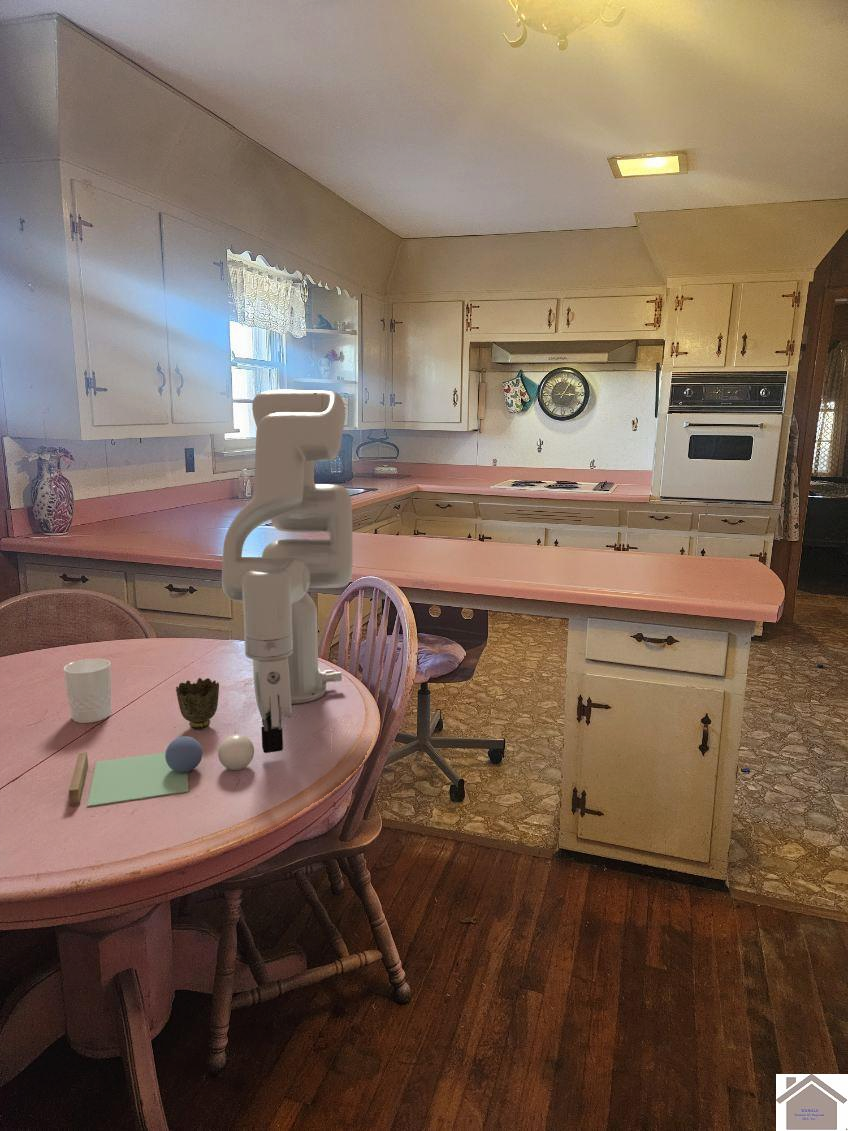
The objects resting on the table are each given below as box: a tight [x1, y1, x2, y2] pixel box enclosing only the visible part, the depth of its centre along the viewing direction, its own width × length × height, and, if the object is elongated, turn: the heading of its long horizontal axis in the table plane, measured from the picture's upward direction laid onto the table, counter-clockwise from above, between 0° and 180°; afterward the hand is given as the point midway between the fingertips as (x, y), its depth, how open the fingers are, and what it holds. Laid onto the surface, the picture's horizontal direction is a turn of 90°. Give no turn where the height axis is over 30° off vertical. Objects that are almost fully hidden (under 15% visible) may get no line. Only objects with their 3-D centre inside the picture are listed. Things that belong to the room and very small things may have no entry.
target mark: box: [86, 751, 189, 808], centre depth 113 cm, size 14×14×1 cm
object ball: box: [164, 736, 203, 773], centre depth 115 cm, size 6×6×6 cm
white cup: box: [62, 657, 112, 724], centre depth 134 cm, size 8×8×10 cm
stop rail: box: [68, 752, 89, 807], centre depth 110 cm, size 1×12×2 cm, turn 19°
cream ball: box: [217, 733, 255, 771], centre depth 116 cm, size 6×6×6 cm
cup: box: [175, 677, 220, 731], centre depth 130 cm, size 8×7×8 cm
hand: (272, 749), depth 120 cm, fingers closed
